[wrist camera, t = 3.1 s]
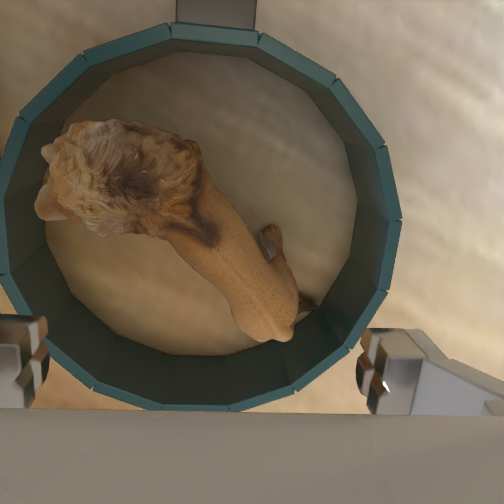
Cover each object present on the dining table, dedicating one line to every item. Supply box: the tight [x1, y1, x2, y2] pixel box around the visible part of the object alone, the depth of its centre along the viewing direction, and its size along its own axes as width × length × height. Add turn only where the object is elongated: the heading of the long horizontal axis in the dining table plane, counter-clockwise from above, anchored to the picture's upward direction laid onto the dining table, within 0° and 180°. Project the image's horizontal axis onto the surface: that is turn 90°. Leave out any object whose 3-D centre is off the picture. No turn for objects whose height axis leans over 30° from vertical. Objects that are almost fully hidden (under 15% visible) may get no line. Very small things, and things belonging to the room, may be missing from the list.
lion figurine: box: [34, 119, 319, 342], centre depth 20 cm, size 15×5×9 cm, turn 49°
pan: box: [0, 0, 402, 412], centre depth 22 cm, size 17×20×4 cm
